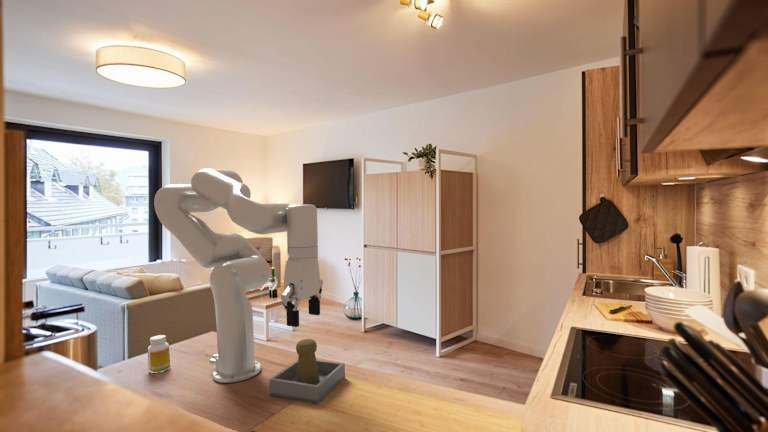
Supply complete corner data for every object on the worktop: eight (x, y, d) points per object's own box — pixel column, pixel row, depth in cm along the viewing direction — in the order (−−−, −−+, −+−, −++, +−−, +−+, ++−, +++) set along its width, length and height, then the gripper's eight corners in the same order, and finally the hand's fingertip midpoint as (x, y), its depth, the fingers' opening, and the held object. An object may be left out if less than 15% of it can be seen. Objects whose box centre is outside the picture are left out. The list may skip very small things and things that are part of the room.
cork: (314, 389, 93) (312, 345, 93) (291, 388, 94) (289, 344, 94) (323, 378, 99) (321, 336, 98) (302, 377, 100) (300, 336, 100)
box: (270, 395, 92) (269, 379, 92) (301, 371, 105) (300, 357, 105) (318, 404, 88) (317, 387, 87) (345, 378, 100) (344, 363, 100)
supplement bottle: (174, 368, 111) (172, 335, 110) (154, 375, 106) (152, 341, 106) (164, 364, 114) (162, 332, 113) (145, 371, 109) (143, 338, 109)
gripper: (308, 248, 105) (309, 309, 105) (268, 257, 89) (270, 329, 89) (332, 249, 102) (333, 311, 103) (295, 258, 86) (297, 333, 87)
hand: (304, 320), depth 96 cm, fingers open, 9 cm apart
